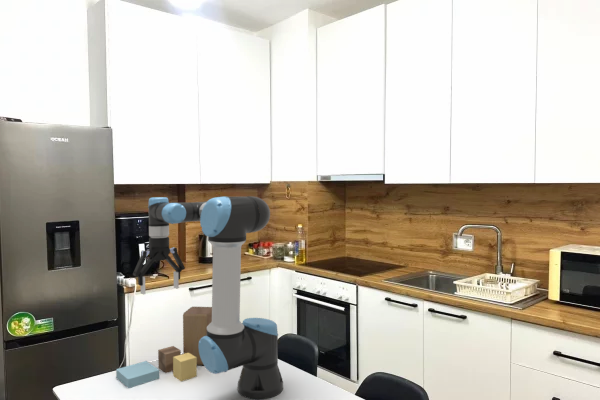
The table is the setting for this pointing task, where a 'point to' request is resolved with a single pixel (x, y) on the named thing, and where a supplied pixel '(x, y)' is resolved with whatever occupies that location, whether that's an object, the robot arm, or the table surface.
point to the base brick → (137, 374)
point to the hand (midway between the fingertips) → (160, 290)
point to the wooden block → (195, 329)
